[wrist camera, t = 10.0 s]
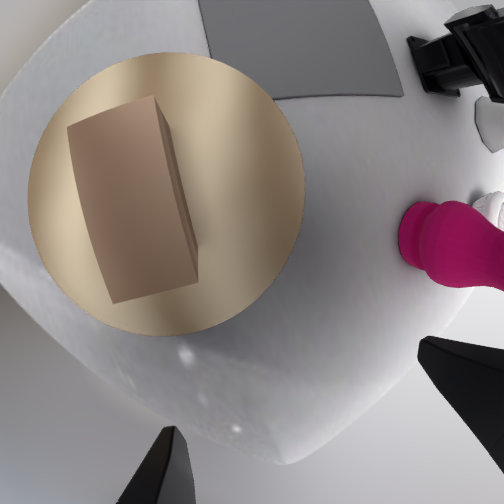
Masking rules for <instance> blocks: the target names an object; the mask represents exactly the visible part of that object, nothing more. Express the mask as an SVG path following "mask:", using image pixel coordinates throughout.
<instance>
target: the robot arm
mask: <svg viewBox="0 0 504 504" xmlns="http://www.w3.org/2000/svg"><path fill="white" fill-rule="evenodd" d="M444 25H445V27H446V28H447V29H449V31H450V32H451V33H449V34H446V35H444V36H441V37H439V38H436V39H434V40H432V41H426V40H423V39H420V38H417V37H413V36H410V37H408V38H407V40H408V42H409V45H410V48H411V50H412V53H413V56H414V58H415V61H416V64H417V67H418V70H419V73H420V76H421V80H422V83H423V86H424V89H425V91H426V92H428V93H434V94H440V95H446V96H451V97H456V98H457V97H460V91H459V88H464V87H469V86H474V85H479V84H484V86H485V88H486V90H487V92H488V94H489V98H490V100H491V102H495V103H501V104H504V8H501V9H497V10H496V9H495V8H494V7H493V5H492V4H491V5H483V6H477V7H470V8H467V9H465V10H463V11H461V12H459V13H456V14H455V15H454V16H452V17H451V18H450V19H449V20H448V21H447V22H445V23H444ZM417 358H418V361H419V363H420V364H421V365H422V367H423V369H424V370H425V372H426V373H427V374H428V376H429V378H430V379H431V381H432V382H433V384H434V385H435V386H436V388H437V389H438V390H439V392H440V393H441V394H442V395H443V396H444V398H445V399H446V400H447V401H448V402H449V404H450V405H451V406H452V407H453V408H454V410H455V411H456V412H457V413H458V414H459V416H460V417H461V418H462V419H463V421H464V422H465V423H466V424H467V426H468V427H469V428H470V429H471V431H472V432H473V433H474V435H475V436H476V437H477V438H478V440H479V441H480V442H481V444H482V445H483V446H484V448H485V449H486V450H487V451H488V453H489V454H490V456H491V457H492V458H493V460H494V461H495V462H496V464H497V465H498V467H499V468H500V469H501V471H502V472H503V474H504V349H498V348H492V347H486V346H481V345H475V344H470V343H464V342H459V341H454V340H449V339H443V338H439V337H434V336H427V337H425V338H423V339H421V340H420V342H419V349H418V355H417ZM116 504H196V500H195V488H194V479H193V474H192V469H191V464H190V459H189V453H188V448H187V443H186V440H185V439H184V437H183V435H182V434H181V433H180V431H179V430H178V428H177V427H176V426H167V427H164V428H163V429H162V430H161V432H160V434H159V435H158V437H157V439H156V440H155V442H154V443H153V445H152V447H151V448H150V450H149V451H148V453H147V455H146V456H145V458H144V460H143V461H142V463H141V464H140V466H139V468H138V469H137V471H136V472H135V474H134V476H133V477H132V479H131V480H130V482H129V484H128V485H127V487H126V488H125V490H124V492H123V493H122V495H121V496H120V498H119V499H118V502H117V503H116Z"/></svg>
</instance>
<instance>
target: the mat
mask: <svg viewBox="0 0 504 504" xmlns="http://www.w3.org/2000/svg"><path fill="white" fill-rule="evenodd" d="M198 2H199V6H200V11H201V15H202V20H203V24H204V29H205V33H206V37H207V42H208V46H209V51H210V55H211V59H214V60H217V61H220V62H222V63H224V64H226V65H228V66H230V67H232V68H234V69H236V70H238V71H240V72H241V73H243V74H244V75H246V76H247V77H249V78H250V79H252V80H253V81H254V82H255V83H256V84H258V85H259V86H260V87H261V88H262V89H263V90H264V91H265V92H266V93H267V94H268V95H269V96H270V97H271V98H272V100H278V99H288V98H299V97H314V96H341V95H365V96H391V97H402V96H404V93H403V89H402V86H401V82H400V79H399V76H398V72H397V69H396V66H395V63H394V60H393V57H392V55H391V52H390V49H389V46H388V44H387V41H386V39H385V36H384V34H383V31H382V29H381V26H380V24H379V22H378V19H377V17H376V15H375V13H374V11H373V9H372V6H371V4H370V2H369V0H198Z"/></svg>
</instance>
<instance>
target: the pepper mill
mask: <svg viewBox="0 0 504 504" xmlns="http://www.w3.org/2000/svg"><path fill="white" fill-rule="evenodd" d="M398 239H399V248H400V251H401V255H402V256H403V258H404V260H405V261H406V262H407V263H408V264H410V265H412V266H414V267H417V268H419V269H421V270H425V271H426V273H427V275H428V276H429V277H430V279H432V280H433V281H434V282H436V283H438V284H441V285H444V286H447V287H454V288H463V287H473V286H489V287H494V288H497V289H499V290H502V291H504V231H502V230H500V229H499V228H497V227H495V226H494V225H493V224H492V223H491V222H489V221H488V220H487V219H486V218H485V217H484V216H483V215H482V214H481V213H480V212H479V211H477V210H476V209H474V208H473V207H471V206H469V205H468V204H465V203H461V202H458V201H447V202H444V203H442V204H440V205H439V204H436V203H430V202H418V203H416V204H414V205H413V206H411V207H410V208H409V210H408V211H407V212H406V214H405V215H404V217H403V219H402V222H401V225H400V230H399V237H398Z"/></svg>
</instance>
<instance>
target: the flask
mask: <svg viewBox="0 0 504 504" xmlns="http://www.w3.org/2000/svg"><path fill="white" fill-rule="evenodd" d="M476 124H477V126H478V129H479V131H480V134H481V137H482V140H483V142H484V144H485V145H486V146H487V147H488V148H489V149H490V150H491V151H492V153H494V152H496V151H499V150H500V149H502V148H504V104H501V103H495V102H491V100H490V98H487V97H484V96H482V97H481V98H480V99H479V100H478V101H477V102H476Z"/></svg>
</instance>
